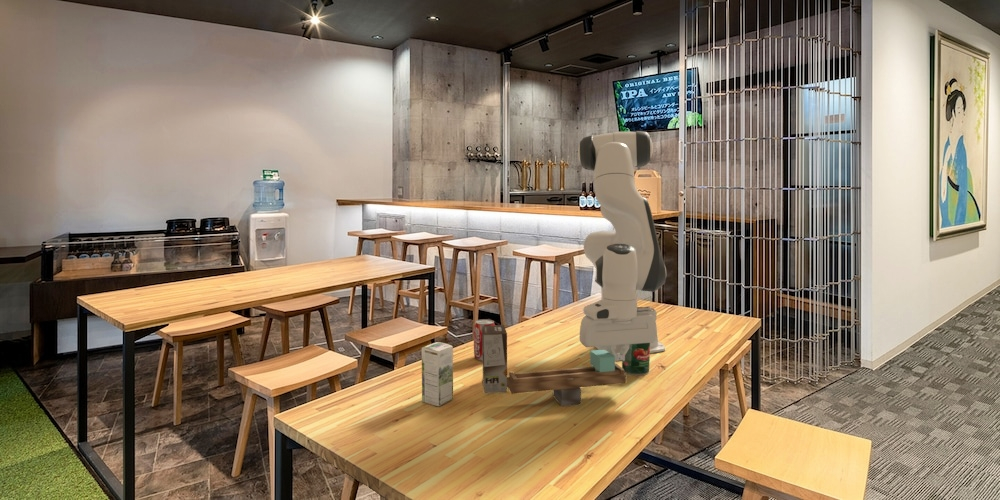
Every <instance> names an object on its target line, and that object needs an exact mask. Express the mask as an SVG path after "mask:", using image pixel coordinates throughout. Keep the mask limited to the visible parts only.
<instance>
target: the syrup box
mask: <svg viewBox="0 0 1000 500" xmlns="http://www.w3.org/2000/svg"><path fill="white" fill-rule="evenodd" d="M453 399H454V347H453V345H451V344H448V343H445V342H439V341H438V342H433V343H431V344H428V345H425V346H422V347H421V401H422V403H425V404H428V405H432V406H435V407H442V406H443V405H445V404H447V403H448V402H450V401H452V400H453Z"/></svg>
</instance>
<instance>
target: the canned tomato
mask: <svg viewBox="0 0 1000 500" xmlns="http://www.w3.org/2000/svg"><path fill="white" fill-rule="evenodd" d="M650 356H651V353H650V343H640V344H629V350H628V351H627V353H626V355H625V361H621V367H622V368H623V369H624V373H625V374H629V375H633V376H643V375H644V376H645V375H647V374H649V373H650V364H651V363H650V360H651V359H650Z"/></svg>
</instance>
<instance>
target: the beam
mask: <svg viewBox="0 0 1000 500" xmlns="http://www.w3.org/2000/svg"><path fill="white" fill-rule="evenodd" d="M619 384H620V385H621V384H627V373H625V372H624V369H623V368H622V366H620V365H619V364H618V363H616V362H615V371H608V372H599V371H595V368H594V367H593V366H585V367H584V366H582V367H573V368H572V367H571V368H570V367H569V368H561V369H549V370H548V369H547V370H537V371H526V372H525V371H523V372H513V371H511V372H510V371H509V372H508V376H507V390H509V392H510V393H511V394H512V395H513V394H514V395H515V394H524V393H525V394H526V393H535V392H546V391H552V396H553V397H554V399H555V400H556V401H557V402H558V403H559V405H560V406H561V407H567V406H568V407H570V406H578V405H582V388H590V387H599V386H609V385H610V386H611V385H619Z"/></svg>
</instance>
